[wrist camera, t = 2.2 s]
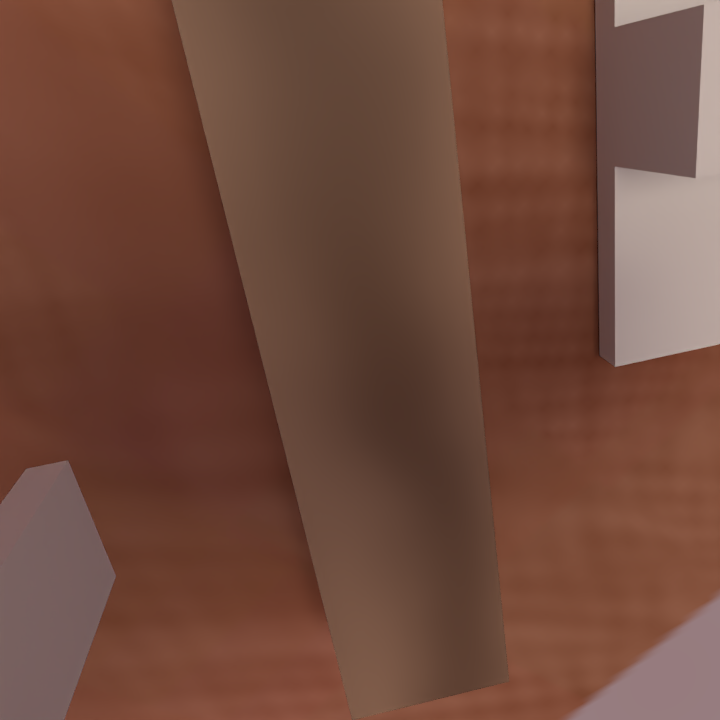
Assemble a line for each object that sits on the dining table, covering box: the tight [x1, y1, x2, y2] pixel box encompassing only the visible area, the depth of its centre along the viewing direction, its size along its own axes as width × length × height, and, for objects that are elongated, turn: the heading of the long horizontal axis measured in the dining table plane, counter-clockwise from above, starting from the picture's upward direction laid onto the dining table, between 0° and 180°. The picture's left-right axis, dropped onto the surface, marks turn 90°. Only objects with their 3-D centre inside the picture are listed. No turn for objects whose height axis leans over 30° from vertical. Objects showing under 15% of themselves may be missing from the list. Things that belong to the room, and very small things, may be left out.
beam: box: [172, 0, 509, 720], centre depth 17 cm, size 5×22×5 cm, turn 10°
